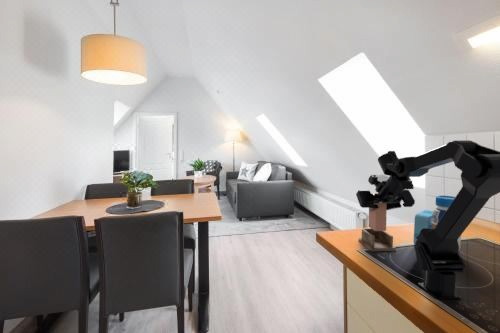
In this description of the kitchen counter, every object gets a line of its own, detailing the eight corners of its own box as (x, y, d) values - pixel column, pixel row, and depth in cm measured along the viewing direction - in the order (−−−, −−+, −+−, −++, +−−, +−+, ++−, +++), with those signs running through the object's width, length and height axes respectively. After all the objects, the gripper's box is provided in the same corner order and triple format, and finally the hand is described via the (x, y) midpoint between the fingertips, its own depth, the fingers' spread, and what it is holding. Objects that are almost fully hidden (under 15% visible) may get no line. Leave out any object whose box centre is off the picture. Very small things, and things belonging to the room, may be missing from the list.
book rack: (396, 250, 89) (396, 237, 89) (371, 251, 89) (371, 237, 89) (380, 240, 99) (381, 228, 99) (358, 240, 99) (358, 228, 99)
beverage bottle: (433, 246, 93) (436, 193, 91) (462, 253, 87) (466, 197, 85) (427, 253, 87) (430, 197, 86) (457, 261, 81) (461, 201, 79)
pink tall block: (386, 230, 91) (386, 195, 90) (375, 231, 91) (375, 196, 90) (378, 226, 96) (379, 193, 95) (368, 226, 96) (369, 193, 95)
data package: (427, 249, 90) (428, 217, 89) (413, 245, 94) (414, 214, 93) (438, 241, 98) (439, 211, 97) (424, 238, 101) (426, 209, 100)
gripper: (410, 167, 88) (391, 192, 100) (359, 168, 88) (345, 193, 99) (426, 193, 81) (402, 217, 93) (369, 194, 80) (353, 218, 92)
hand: (375, 210), depth 94 cm, fingers closed on pink tall block, 4 cm apart
